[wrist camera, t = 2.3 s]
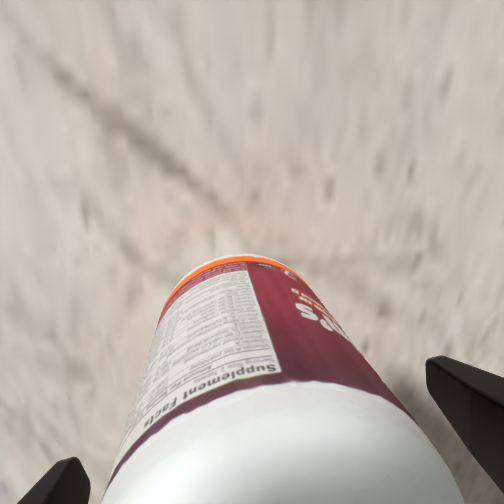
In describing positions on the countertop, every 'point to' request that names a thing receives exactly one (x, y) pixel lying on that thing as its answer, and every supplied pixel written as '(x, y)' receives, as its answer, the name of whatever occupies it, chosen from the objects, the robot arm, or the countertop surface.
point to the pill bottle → (266, 404)
